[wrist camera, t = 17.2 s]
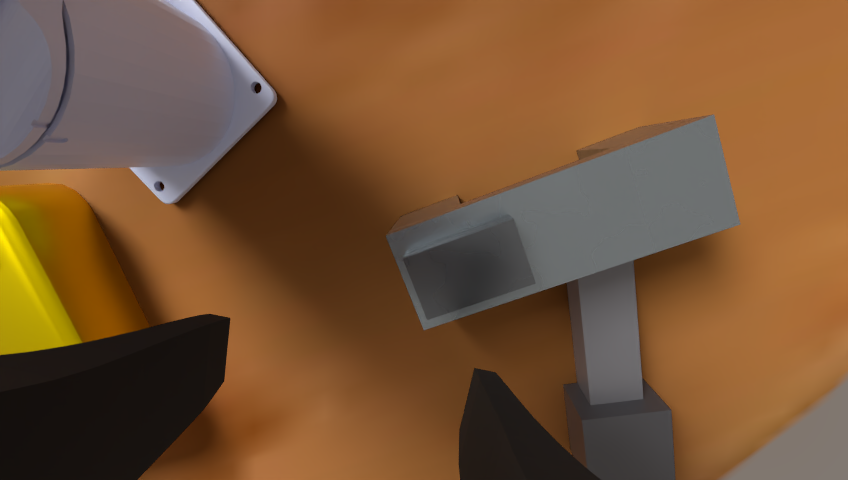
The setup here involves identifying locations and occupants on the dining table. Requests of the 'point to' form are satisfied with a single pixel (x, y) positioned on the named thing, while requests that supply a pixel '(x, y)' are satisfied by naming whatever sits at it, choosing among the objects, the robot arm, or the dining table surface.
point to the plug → (614, 384)
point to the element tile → (58, 273)
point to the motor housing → (566, 220)
